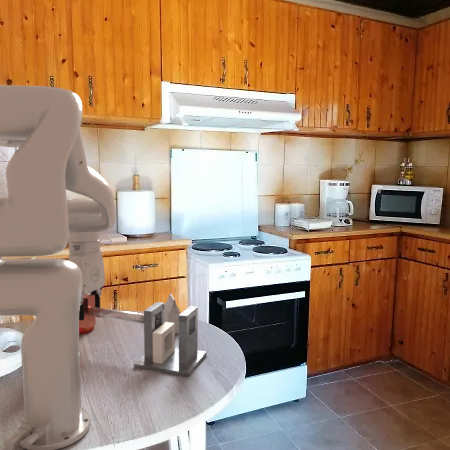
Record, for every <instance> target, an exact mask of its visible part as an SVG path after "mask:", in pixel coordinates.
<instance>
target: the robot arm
mask: <svg viewBox="0 0 450 450" xmlns="http://www.w3.org/2000/svg"><path fill="white" fill-rule="evenodd" d="M82 121H83V104H82V100H81V98H80V96H79V95H78V94H77V93H76V92H73V91H72V90H68V89H65V88H62V87H56V86H43V85H12V84H11V85H9V84H8V85H7V84H6V85H4V84H0V147H4V148H17V149H16V151H15V152H14V153H13V154H12V156H11V158H10V159H9V161H8V163H7V165H6V167H5V178H6V186H7V197H0V317H1V316H2V317H3V316H4V317H5V316H33V317H35V320H33V321H32V322H31V324H30V325H29V326H28V327H27V328H26V330H25V331H24V334H23V335H22V337H21V341H20V354H21V371H22V372H21V373H22V389H23V390H22V393H23V394H22V395H23V408H24V409H23V410H24V415H23V416H22V417H21V418H19V419H20V422H19V424H18V425H17V426H16V430H15V432H14V433H12V434H10V435H9V436H8V437H7V438H6V439H5V440H4V441H3V446H4V448H5V449H6V450H13V449H15V448H16V447H17V446H20V447H22V449H25V450H59V449H62V448H66V447H68V446H71V445H72V444H74V443H75V442H78V441H79V440H80V439H82V438H83V437H84V436H85V435H86V434H87V432H88V431H89V430H90V427H91V425H92V419H91V418H92V417H91V415H90V412H88V411H87V409H85V408H83V407H82V388H81V387H82V383H81V382H82V381H81V359H80V358H81V355H80V354H81V353H80V334H79V320H84V305H83V304H82V302H83V297H84V295H85V294H88V293H90V295H95V307H96V308H101V296H102V289H103V287H104V285H105V284H106V276H105V275H106V273H105V264H104V258H103V253H102V252H103V251H102V250H101V234H100V233H105V232H109V231H111V230H112V229H113V227H114V225H115V223H116V207H115V206H116V205H115V199H114V195H113V194H114V193H113V190H112V188H111V186H110V184H109V183H108V182H107V181H106V180H105V178H103V177H102V176H101V174H99V173H98V172H97V171H96V170H94V169H93V168H91V167H90V166H88V162H87V161H88V160H87V156H86V151H85V150H86V149H85V146H84V140H83V135H82V129H81V124H82ZM67 191H69V192H72V193H74V194H79V195H81V196H84V197H82V198H79V197H78V198H72V199H69V200H68V199H67ZM67 246H68V250H69V251H68V253H69V254H68V259H64V258H57V257H55V258H53V257H51V258H49V257H48V258H47V257H45V256H51V255H55V254H59V253H61V252H62V251H64V250H65V249H66V248H67ZM42 256H43V258H42ZM2 257H3V258H4V257H5V259H3V258H2ZM8 257H11V258H12V257H41V258H16V259H15V258H14V259H13V258H12V259H11V258H8ZM44 257H45V258H44ZM7 258H8V259H7Z"/></svg>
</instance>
